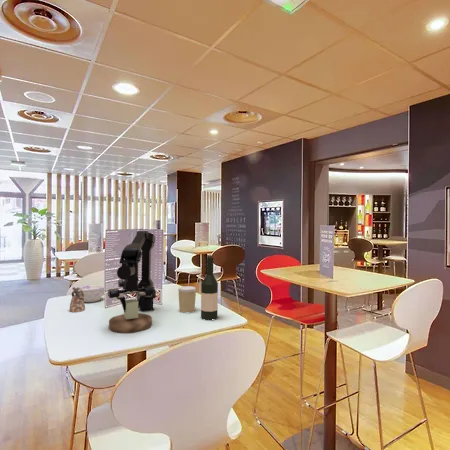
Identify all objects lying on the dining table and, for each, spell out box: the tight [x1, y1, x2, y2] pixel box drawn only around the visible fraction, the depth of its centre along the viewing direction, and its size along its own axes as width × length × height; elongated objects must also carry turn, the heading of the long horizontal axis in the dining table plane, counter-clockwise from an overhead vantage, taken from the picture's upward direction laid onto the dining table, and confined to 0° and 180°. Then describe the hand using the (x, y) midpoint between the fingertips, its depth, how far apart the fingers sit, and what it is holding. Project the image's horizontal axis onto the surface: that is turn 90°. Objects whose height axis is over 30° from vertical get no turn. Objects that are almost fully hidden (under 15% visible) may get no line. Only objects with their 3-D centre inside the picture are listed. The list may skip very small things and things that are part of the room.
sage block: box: [123, 298, 139, 319], centre depth 133 cm, size 5×5×7 cm
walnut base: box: [108, 312, 153, 334], centre depth 133 cm, size 18×18×3 cm
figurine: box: [69, 286, 86, 313], centre depth 156 cm, size 7×7×12 cm
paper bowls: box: [79, 284, 105, 303], centre depth 177 cm, size 15×15×8 cm
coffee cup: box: [177, 285, 197, 313], centre depth 158 cm, size 9×9×12 cm
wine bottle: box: [200, 255, 219, 321], centre depth 147 cm, size 8×8×30 cm
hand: (131, 311), depth 133 cm, fingers closed on sage block, 5 cm apart
